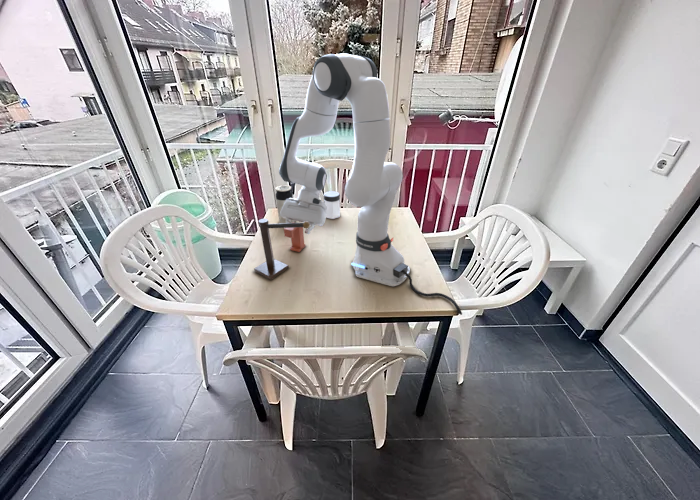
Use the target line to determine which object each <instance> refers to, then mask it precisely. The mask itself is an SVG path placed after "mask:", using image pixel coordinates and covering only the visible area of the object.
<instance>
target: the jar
mask: <svg viewBox="0 0 700 500" xmlns="http://www.w3.org/2000/svg"><path fill="white" fill-rule="evenodd" d="M323 202H324V203H325V204H326V206H327V210H326V219H331V220H334V219H337V218H340V217H341V195H340V192H338V191H335V190H332V191H331V190H329V191H326V192H323Z"/></svg>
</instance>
